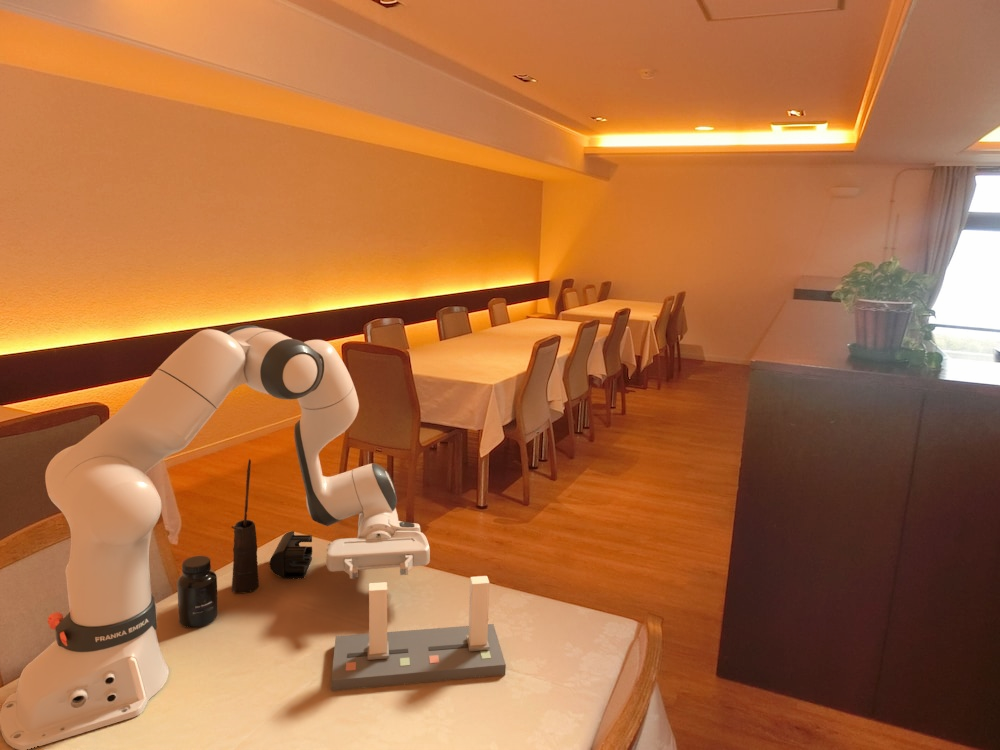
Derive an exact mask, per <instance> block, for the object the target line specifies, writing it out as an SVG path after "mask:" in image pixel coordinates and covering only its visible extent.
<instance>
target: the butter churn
mask: <svg viewBox="0 0 1000 750" xmlns="http://www.w3.org/2000/svg"><path fill="white" fill-rule="evenodd" d="M251 463H252V461H251V459H248V463H247V469H246V486H245V500H244V514H243V515H244V517H243V519H242V520H239V521H238V522H236V524H235V525H231V528H232V529H233V530H234V531H233V534H234V535H233V536H234V537H233V547H232V552H233V560H232V561H233V564H232V581H231V590H232V592H233V593H234V594H240V593H241V594H248V593H252V592H255V591H256V590H258V589H259V570H258V569H259V565H258V544H257V542H258V541H257V539H258V538H257V531H256V523H255V522H254V521H253V520H249V519H247V518H248V514H247V513H248V510H249V509H248V505H249V493H250V480H251V479H250V477H251V465H252V464H251Z"/></svg>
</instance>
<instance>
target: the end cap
mask: <svg viewBox="0 0 1000 750" xmlns="http://www.w3.org/2000/svg"><path fill="white" fill-rule="evenodd" d="M312 542H313V535H312V534H304V535H303V534H295V531H293V530H292V531H288V532H286V533H285V534H283V536H282V537H281V539H280V540H279V543H278V544H277V546H276V548H275V550H274V551H273V553H272V555H271V558H270V560H269V569H270V570H271V572H272V573H273V574H274V575H276V576H278V577H279V578H281V579H284V580H302V578H303V579H304V577H306V576H307V573H308V571H309V567H310V566H309V565H311V563H312V559H313V557H312V555H313V546H306V545H305V546H301V545H300V544H301V543H312ZM307 570H308V571H307ZM293 578H294V579H293ZM298 578H299V579H298ZM300 578H301V579H300Z"/></svg>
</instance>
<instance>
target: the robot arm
mask: <svg viewBox="0 0 1000 750" xmlns="http://www.w3.org/2000/svg"><path fill="white" fill-rule="evenodd" d="M337 351H338V350H337V349H335V347H334V346H333V345H332V344H331V343H330V342H328V341H326V340H323V339H311V340H309V339H308V340H306V341H302V340H299V339H296V338H292V337H289V336H288V335H285V334H283V333H282V332H280V331H276V330H273V329H269V328H263V327H260V326H256V325H249V324H248V325H240V326H236V327H234V328H231V329H229V330H227V331H226V332H223V331H222V330H217V329H212V328H211V329H210V328H207V329H203V330H199V331H198V332H196V333H194V335H193V336H191V337H190V338H188V339H187V340H186V341H185V342H183V343H182V344H181V345H180V346H179V347H177V349H176V350H174V351H173V352H172V353H171V354H170V355H169V356H168V357H167V358H166V359H165V360H164V361H163V362H162V364H160V366H158V367H157V369H156V370H155V371H154V372H153V373H152V374H151V376H149V378H148V379H147V380H146V381H144V383H143V384H142V385H141V387H140V388H138V390H137V391H136V392H135V393H134V394H133V396H131V398H130V399H129V400H128V401H127V402H126V403H125V404H124V405H123V406H122V407H121V408H120V409H119V410H117V412H115V413H114V414H113V415H112V416H111V417H109V418H108V419H107V420H106V421H104V422H103V423H102V424H100V425H99V426H98V427H96V428H95V429H94V430H93V431H91V432H90V433H89V434H88V435H86V436H85V437H84V438H83V439H81V440H80V441H79V442H77V443H76V444H74V445H71V446H68V447H66V448H64V449H62V450H61V451H60V452H59V451H58V453H57V454H55V455H54V457H52V459H51V460H50V461H49V463H48V465H47V467H46V469H45V475H44V478H45V479H44V480H45V487H46V491H47V495H48V497H49V499H50V501H51V502H52V503H53V504H54V505H55V507H57V508H58V510H60V512H61V513H62V514H63V516H64V517H65V519H66V521H67V523H68V526H69V529H70V541H71V542H70V552H69V559H68V562H67V565H66V566H65V580H66V589H67V597H68V599H67V601H68V606H69V612H68V613H67V614H66V615H65V616H64V615H63V613H61V612H59V611H58V612H54V613H52V614H50V615H49V617H48V618H47V623H48V625H49V628H50V629H51V630H53V631H54V630H55V631H54V632H55V633H54V634H55V640H54V641H53V642H52V643H51V644H50V645H49V646H48V647H46V648H45V649H44V650H43V651H42V652H41V653H40V654H38V655H37V656H36V657H35V658H34V659H32V660H31V661H30V662H29V663H28V664H27V665H26V666H25V667H24V668H23V670H22V671H21V672H20V673H21V674H20V676H19V679H18V681H17V682H18V683H17V686H16V691H15V692H13V693H12V694H10V695H9V696H8V697H7V698H6V700H5V701H4V702H3V704H2V706H1V708H0V733H1V737H2V738H3V740H4V741H5V743H6V744H7V745H8V746H10V747H11V748H13V749H16V750H27V749H28V750H32V749H35V748H38V747H37V746H39V747H41V746H44V745H48V744H51V743H54V742H57V741H61V740H63V739H64V740H65V739H67V738H71V737H74V736H77V735H80V734H84V733H87V732H89V731H93V730H96V729H99V728H103V727H106V726H109V725H113V724H116V723H118V722H119V723H120V722H122V721H126V720H129V719H132V718H135V717H137V716H139V715H140V714H141V713H142V712H143V711H144V709H145V707H146V706H147V704H148V702H149V701H150V699H152V698H153V697H154V696H155V695H157V693H158V692H159V691H160V690H161V689H162V687H164V685H165V684H166V682H167V680H168V679H169V678H168V677H169V675H170V670H169V667H168V665H167V663H166V661H165V658H164V656H163V653H162V651H161V648H160V647H161V646H160V644H159V640H158V635H157V628H158V625H157V623H158V612H157V602H156V600H155V596H153V594H152V589H151V588H152V586H151V575H150V574H151V573H150V562H149V561H150V560H149V553H150V546H151V545H150V544H151V538H152V532H153V529H154V528H155V526H156V525H157V523H158V522H159V518H160V517H161V513H162V498H161V497H160V495H159V492H158V490H157V488H156V486H155V483H154V482H153V481H152V479H151V478H150V477H149V476H148V475H147V473H148V472H149V471H150V470H152V468H154V467H155V466H157V465H158V464H159V463H161V461H163V460H165V459H166V458H168V457H169V456H171V455H173V454H175V453H179V452H180V451H182V450H184V449H185V448H186V447H189V446H188V445H189V444H191V443H192V441H193V440H194V439H195V437H196V436H197V435H198V433H199V432H200V431H201V430H202V428H203V427H204V426H205V425H206V424H207V422H209V420H210V418H212V416H213V415H214V413H216V412H217V410H218V409H219V407H220V406H221V405H222V404H223V403H224V401H225V400H226V398H227V396H229V394H230V393H232V391H234V390H235V389H237V388H238V387H239V386H242V385H246V386H247V387H249V388H250V389H252V390H253V391H256V392H258V393H262V394H265V395H269V396H272V397H273V398H276V399H279V400H296V399H297V402H298V404H299V407H300V410H301V411H300V412H301V416H300V419H299V420H298V421H297V422H296V423H295V424H294V430H293V433H294V435H293V437H294V443H295V444H294V445H295V450H296V453H297V459H298V464H299V468H300V473H301V477H302V478H301V479H302V481H303V485H304V490H305V502H306V508H307V512H308V514H309V515H310V517H311V519H312V521H314V522H316V523H318V524H320V525H323V526H326V527H329V526H332V525H334V524H336V523H339V522H341V521H343V520H345V519H348V518H351V517H353V516H356V515H358V521H357V522H358V524H357V528H358V529H357V537H349V538H348V537H347V538H337V539H335V540H333V541H332V542H331V543H328V544H327V545H326V556H325V558H326V559H325V561H326V569H327V570H328V571H329V572H345V573H346V574H347V575H349V579H350V580H351V579H358V576H359V571H361V570H378V569H392V568H393V569H394V568H399V575H400V576H408V575H409V571H410V570H411V569H412V568H413V567H422V566H427V565H428V564H430V561H431V557H430V556H431V553H430V552H431V550H430V548H431V547H430V545H429V541H428V539H427V536H426V535H425V534H424V533H423V532H421V531H422V530H421V525H420V524H419V523H417V522H416V523H414V522H409V521H407V522H406V521H401V520H399V515H398V512H397V507H396V506H397V505H398V498H397V492H396V486H395V484H394V481H393V478H392V476H391V474H390V472H389V471H388V470H387V469H386V468H385V467H383V466H382V465H380V464H378V463H375V462H372V463H368V464H364V465H363V466H358V467H355V468H353V469H351V470H347V471H345V472H341V473H338V474H335V475H331V476H325V475H323V470H322V465H321V461H320V456H319V454H320V452H321V451H322V450H323V448H324V447H326V445H328V444H329V443H331V442H332V441H333V440H334V439H336V438H337V437H339V436H341V435H342V434H343V433H345V432H346V431H347V430H348V429H349V428H350V427H351V425H352V424H353V423H354V421H355V419H356V418H357V415H358V412H359V409H360V403H359V398H358V395H357V394H358V393H357V391H356V387H355V385H354V382H353V380H352V377H351V375H350V372H349V371H348V368H347V367H346V364H345V363H344V361H343V359H342V358H341V356H340V355H339V353H338V352H337ZM34 747H35V748H34ZM31 748H32V749H31Z"/></svg>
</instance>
